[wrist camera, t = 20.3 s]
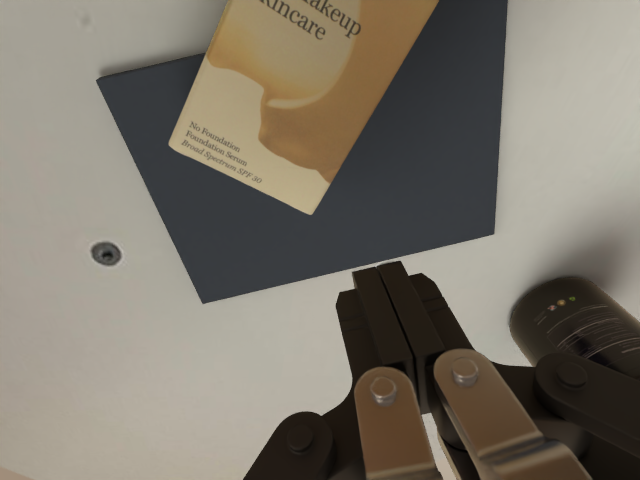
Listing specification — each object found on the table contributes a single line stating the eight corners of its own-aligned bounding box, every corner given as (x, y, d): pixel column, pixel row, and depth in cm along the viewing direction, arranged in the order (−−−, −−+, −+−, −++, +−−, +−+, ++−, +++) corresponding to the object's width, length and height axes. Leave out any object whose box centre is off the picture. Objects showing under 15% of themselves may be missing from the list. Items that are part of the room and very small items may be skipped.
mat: (203, 297, 25) (202, 304, 24) (99, 77, 18) (94, 80, 17) (489, 229, 25) (494, 234, 24) (502, -17, 18) (509, -17, 17)
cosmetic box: (162, 150, 15) (327, -278, 10) (185, 126, 18) (311, -193, 14) (320, 222, 16) (513, -114, 12) (310, 186, 20) (455, -78, 16)
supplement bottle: (604, 316, 31) (773, 477, 21) (519, 356, 32) (640, 527, 22) (588, 255, 27) (783, 416, 17) (494, 304, 28) (624, 479, 18)
